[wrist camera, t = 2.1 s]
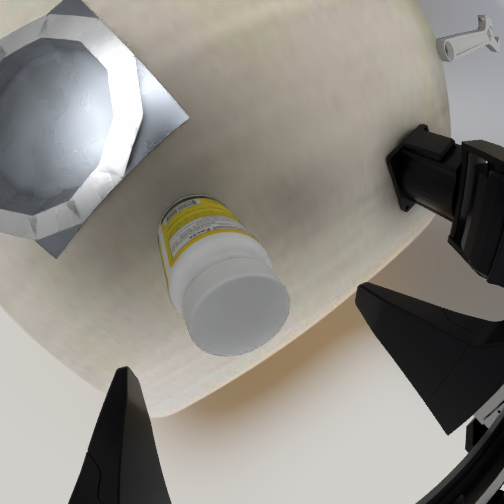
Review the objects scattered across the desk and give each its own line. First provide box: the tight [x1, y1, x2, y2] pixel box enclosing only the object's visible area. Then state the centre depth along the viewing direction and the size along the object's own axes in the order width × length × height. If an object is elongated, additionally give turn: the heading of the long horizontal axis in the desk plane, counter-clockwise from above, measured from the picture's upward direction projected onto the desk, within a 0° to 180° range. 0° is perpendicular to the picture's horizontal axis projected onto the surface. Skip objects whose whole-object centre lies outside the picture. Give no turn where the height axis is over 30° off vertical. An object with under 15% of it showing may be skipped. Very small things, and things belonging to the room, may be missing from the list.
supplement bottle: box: [158, 195, 290, 356], centre depth 13 cm, size 5×5×8 cm
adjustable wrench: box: [436, 15, 500, 62], centre depth 15 cm, size 25×6×2 cm, turn 116°
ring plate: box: [0, 0, 190, 259], centre depth 9 cm, size 11×11×3 cm
